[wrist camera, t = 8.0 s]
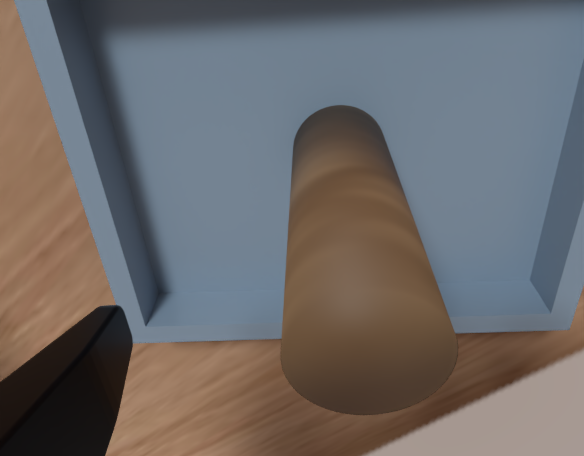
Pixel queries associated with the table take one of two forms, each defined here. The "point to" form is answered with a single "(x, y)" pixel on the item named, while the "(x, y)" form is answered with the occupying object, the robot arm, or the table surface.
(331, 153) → the walnut dowel
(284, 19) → the slate tray
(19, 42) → the table surface
